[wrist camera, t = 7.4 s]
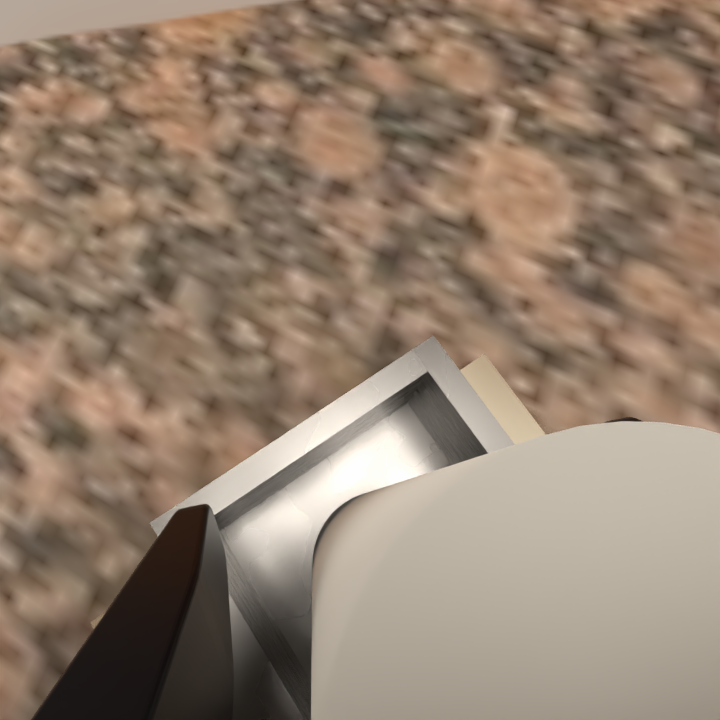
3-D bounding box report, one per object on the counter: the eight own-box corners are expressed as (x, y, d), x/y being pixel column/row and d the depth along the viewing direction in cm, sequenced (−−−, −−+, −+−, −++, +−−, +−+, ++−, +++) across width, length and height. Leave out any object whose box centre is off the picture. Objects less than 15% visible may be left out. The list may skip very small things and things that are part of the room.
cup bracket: (235, 860, 14) (170, 1100, 8) (89, 595, 16) (-58, 635, 10) (563, 595, 16) (702, 632, 10) (408, 380, 18) (451, 303, 12)
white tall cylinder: (402, 668, 15) (873, 1505, 2) (284, 582, 15) (148, 925, 3) (477, 543, 16) (1115, 672, 3) (364, 463, 16) (546, 301, 4)
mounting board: (400, 1148, 14) (407, 1204, 13) (106, 616, 17) (90, 622, 16) (782, 772, 17) (816, 790, 15) (474, 364, 19) (484, 353, 18)
